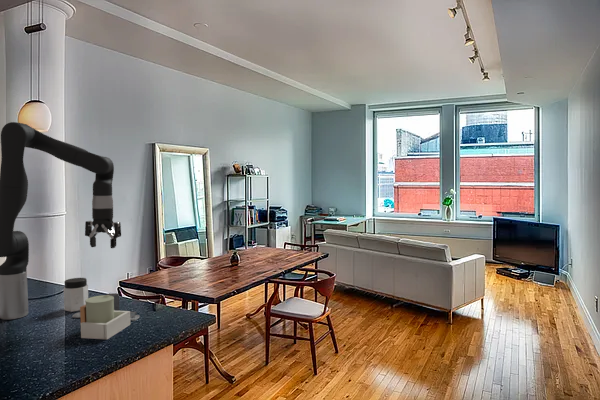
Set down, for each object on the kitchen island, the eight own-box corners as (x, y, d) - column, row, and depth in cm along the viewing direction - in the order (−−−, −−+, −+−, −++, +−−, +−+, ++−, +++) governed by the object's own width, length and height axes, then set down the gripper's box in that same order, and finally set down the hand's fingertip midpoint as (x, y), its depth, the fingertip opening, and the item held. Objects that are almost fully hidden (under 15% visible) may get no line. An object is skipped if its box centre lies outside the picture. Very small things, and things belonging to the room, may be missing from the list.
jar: (65, 313, 170) (64, 283, 170) (63, 307, 177) (62, 279, 176) (90, 309, 175) (89, 280, 174) (87, 304, 182) (86, 276, 181)
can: (120, 328, 153) (119, 295, 152) (100, 337, 145) (99, 302, 144) (101, 325, 156) (100, 292, 156) (80, 333, 148) (79, 299, 147)
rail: (72, 317, 165) (72, 315, 165) (78, 314, 168) (77, 312, 168) (135, 320, 161) (135, 318, 161) (139, 317, 164) (139, 315, 164)
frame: (81, 337, 144) (80, 323, 144) (106, 323, 158) (106, 310, 158) (107, 339, 142) (106, 324, 142) (130, 324, 157) (130, 311, 156)
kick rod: (80, 329, 149) (79, 307, 149) (110, 313, 166) (109, 293, 166) (111, 331, 147) (111, 308, 147) (138, 314, 165) (138, 294, 164)
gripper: (80, 207, 166) (80, 248, 167) (113, 208, 164) (113, 249, 165) (92, 205, 174) (93, 245, 175) (124, 206, 171) (124, 246, 172)
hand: (103, 247), depth 170 cm, fingers open, 8 cm apart
